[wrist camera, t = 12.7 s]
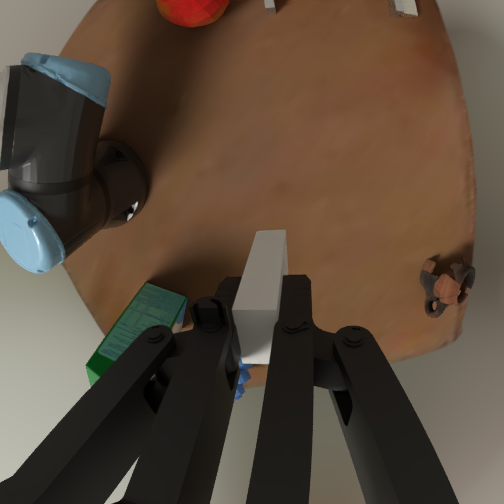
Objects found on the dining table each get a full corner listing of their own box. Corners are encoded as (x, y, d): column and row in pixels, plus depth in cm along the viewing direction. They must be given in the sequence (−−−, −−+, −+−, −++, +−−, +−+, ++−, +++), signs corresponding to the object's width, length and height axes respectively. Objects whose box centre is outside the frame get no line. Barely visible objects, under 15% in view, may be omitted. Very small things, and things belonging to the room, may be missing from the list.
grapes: (230, 329, 57) (216, 375, 47) (262, 338, 57) (254, 385, 47) (219, 363, 63) (206, 406, 52) (248, 372, 63) (239, 415, 52)
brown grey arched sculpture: (430, 241, 43) (468, 259, 36) (450, 251, 48) (483, 267, 40) (403, 305, 46) (436, 328, 39) (426, 306, 50) (456, 326, 43)
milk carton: (145, 281, 55) (77, 376, 33) (188, 297, 55) (133, 403, 33) (143, 314, 59) (86, 405, 37) (181, 329, 59) (136, 428, 37)
